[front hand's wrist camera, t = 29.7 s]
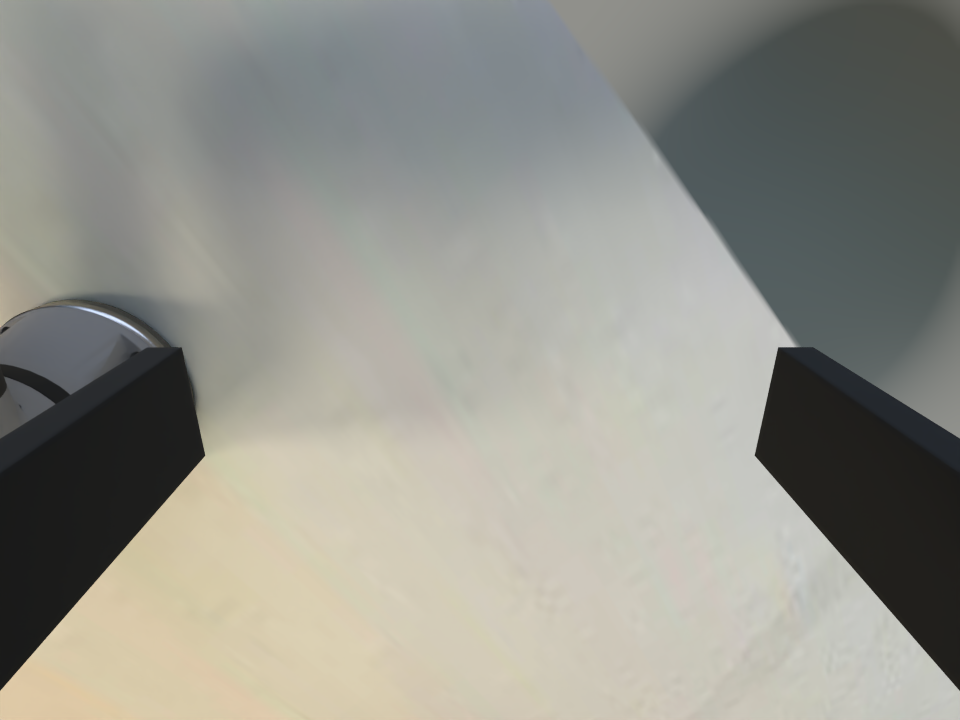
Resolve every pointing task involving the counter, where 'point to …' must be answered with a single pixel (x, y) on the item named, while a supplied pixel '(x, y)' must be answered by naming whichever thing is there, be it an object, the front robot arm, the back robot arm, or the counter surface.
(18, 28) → the counter surface
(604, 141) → the counter surface
